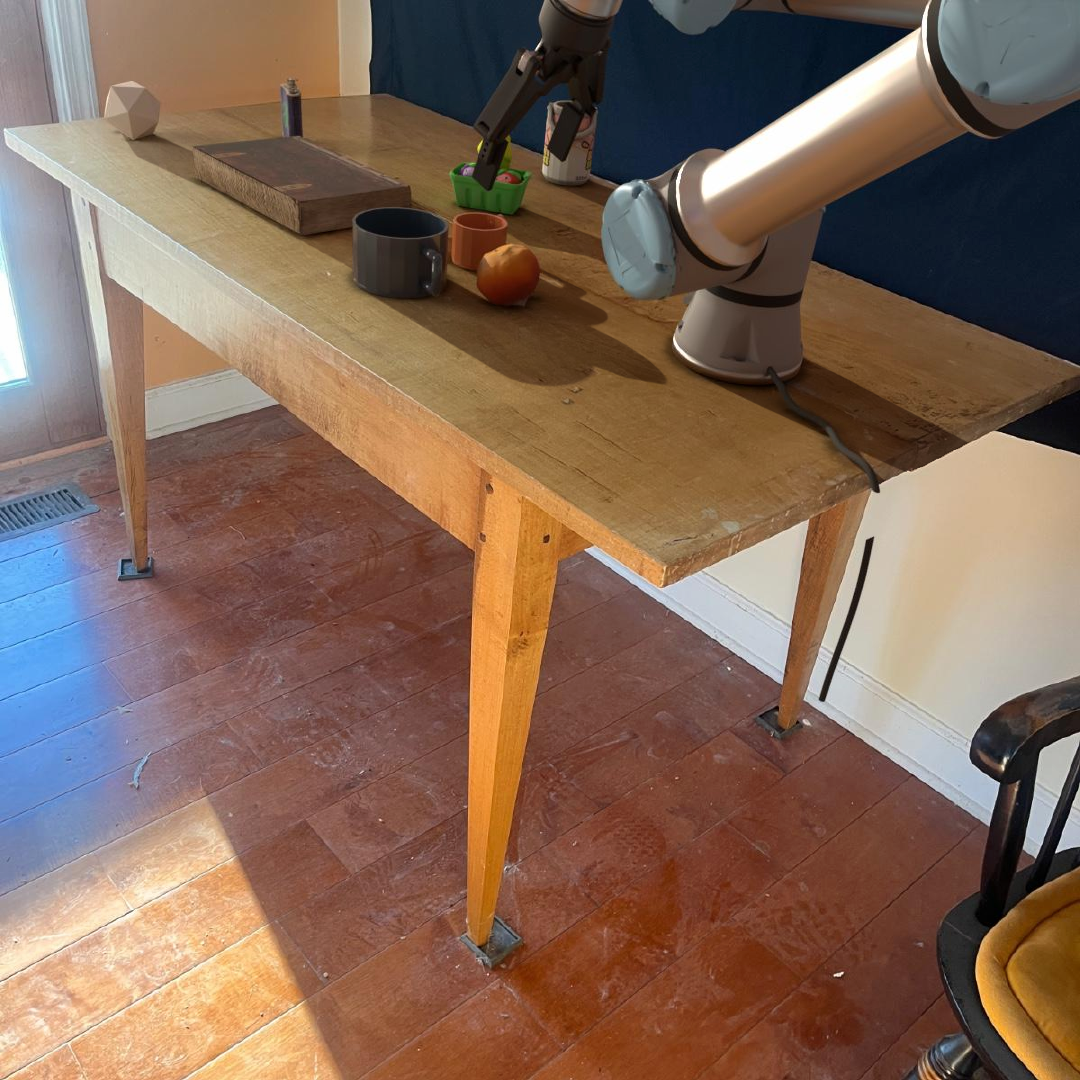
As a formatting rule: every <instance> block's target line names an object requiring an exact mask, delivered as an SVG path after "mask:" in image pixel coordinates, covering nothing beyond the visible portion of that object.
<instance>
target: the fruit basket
mask: <svg viewBox="0 0 1080 1080" xmlns="http://www.w3.org/2000/svg"><path fill="white" fill-rule="evenodd" d="M506 140H507V141H508V142H509V143H508V146H507V149H506V151H505V154H504V157H503V160H502V163H501V165H500V168H499V171H498V174H497V177H496V179H495V182H494V185H493V188H492V190H490V191H486V190H485V189H484V188H483V187H482V186H481V185H480V184H479V183H478V182H477V181H476V180H474V179H473V178H472V174H473V171H474V168H475V165H476V162H466V161H465V162H461V163H460V164H458V165H457V166H456V167H454V168H453V169H452V170H450V171H449V177H450V180H451V182H452V188H453V193H454V196H455V201H456V205H457V206H458V207H463V208H470V209H475V210H476V209H477V210H481V211H484V210H485V211H487V212H492V213H500V214H506V215H510V216H512V215H514V213H515V212H516V211H517V210H518V209H519V208H520V207H521V205H522V202H523V199H524V196H525V193H526V189H527V187H528V183H529V182H530V179H531V177H532V172H530V171H526V170H520V169H516V168H511V162H512V159H513V150H512V147H511V140H512V139H511V136H510V134H509V135H508V136H507V137H506ZM482 141H483V139H482V140H481V141H480V142H479V144H478V145H477V154H478V153H479V151H480V148H481V144H482Z"/></svg>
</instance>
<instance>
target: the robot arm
mask: <svg viewBox="0 0 1080 1080" xmlns="http://www.w3.org/2000/svg"><path fill="white" fill-rule="evenodd" d="M623 1H624V0H544V1H543V4H542V7H541V9H540V13H539V16H538V24H539V28H540V31H541V36H542V37H541V40H540V42H539V43H538V45H537V46H536V48H535V50H531V51H530V50H529V49H527V48H526V47H525V46H524V45H523V46H520V47H519V48H518V49H517V51H516V53H515V55H514V58H513V60H512V63H511V65H510V68H508V70H507V72H506V73H505V74H504V77H503V78H502V80H501V81H500V83H499V85H498V86H497V88H496V89H495V91H494V93H492V95H491V97H490V98H489V100H488V101H487V103H486V105H485V107H484V108H483V110H482V111H481V113H480V115H479V116H478V118H477V119H476V121H475V122H474V124H473V129H474V131H476V132H477V133H478V134H479V135H480V136H481V137H483V138H482V140H483V141H482V140H481V141H482V144H481V148H480V151H479V153H478V152H477V160H476V162H475V163H476V165H475V168H474V171H473V174H472V178H473V179H474V180H476V181H477V182H478V183H479V184H480V185H481V186H482V187H483V188H484V189H485V190H486V191H490V190H492V188H493V185H494V182H495V179H496V177H497V174H498V171H499V168H500V165H501V163H502V160H503V157H504V154H505V151H506V149H507V146H508V143H509V142H508V141H507V140H506V137H507V136H508V135H509V136H510V134H511V133H512V131H513V130H514V129H515V128H516V127H517V126H518V125H519V123H520V122H521V121H522V119H523V118H524V117H525V116H526V114H527V113H529V111H530V110H531V108H532V107H534V105H535V104H536V103H537V101H538V100H539V99H540V98H541V97H546V96H547V95H549V93H550V92H551V91H552V90H553V88H555V87H557V86H559V85H561V84H563V85H564V84H566V87H567V91H568V95H569V98H570V101H572V102H573V104H571V103H570V102H566V103H564V106H563V108H562V111H561V113H560V116H559V118H558V121H557V124H556V126H555V129H554V131H553V134H552V136H551V139H550V141H549V144H548V146H547V150H549V151H550V152H551V153H552V154H553V155H554V156H555V157H556V158H558V159H559V160H560V161H561V162H564V161H566V159H567V156H568V154H569V151H570V149H571V147H572V144H573V142H574V139H575V137H576V134H577V132H578V130H579V127H580V125H581V122H582V120H583V118H584V115H585V113H586V114H587V115H588V116H589V117H592V116H593V115H594V114H595V112H596V108H595V107H596V106H599V105H600V104H601V103H602V102H603V100H604V91H605V83H606V81H605V80H606V69H607V58H608V54H609V51H610V49H611V45H612V42H613V40H612V39H611V37H609V35H610V32H611V30H612V27H613V25H614V22H615V18H616V14H618V13H619V11H620V9H621V6H622V3H623ZM648 2H649V3H650V4H651V5H652V7H653V9H654V10H655V11H656V12H657V13H658V14H659V16H662V17H663V18H664V20H667V21H668V22H670V23H671V25H673V26H674V28H676V29H677V30H678V31H679V32H680V33H683V34H686V35H690V36H691V35H693V36H695V35H696V36H697V35H700V34H704V33H705V32H706V31H707V29H709V28H715V27H717V26H719V24H720V23H721V22H723V21H724V20H725V19H726V17H728V15H729V14H730V12H732V11H764V12H775V13H782V14H783V13H784V14H791V15H805V16H810V17H820V18H825V19H826V18H827V19H833V20H842V21H849V22H856V23H862V24H863V23H864V24H871V25H879V26H880V25H881V26H887V27H892V28H893V27H895V28H901V29H909V30H914V31H912V32H910V33H909V34H907V35H906V36H905V37H903V38H901V39H900V40H898V41H897V42H895V43H893V44H892V45H891V46H889V47H887V48H886V49H884V50H883V51H881V52H879V53H878V54H877V55H875V56H873V57H872V58H870V59H869V60H867V61H865V62H864V63H862V64H861V65H859V66H857V67H856V68H854V69H853V70H852V71H850V72H849V73H847V74H845V75H844V76H842V77H840V78H839V79H837V80H836V81H835V82H833V83H832V84H830V85H828V86H827V87H825V88H823V89H821V91H819V92H817V93H816V94H814V95H813V96H811V97H810V98H808V99H807V100H805V101H804V102H802V103H800V104H799V105H797V106H795V107H794V108H793V109H791V110H789V111H788V112H786V113H784V115H781V116H780V117H779V118H777V119H776V120H774V121H773V122H771V123H769V124H768V125H766V126H765V127H763V128H761V129H760V130H759V131H757V132H755V133H754V134H753V135H751V136H749V137H747V138H746V139H745V140H743V141H741V142H740V143H738V144H737V145H735V146H733V147H731V148H729V149H727V150H726V151H725V150H722V149H717V148H706V149H702V150H699V151H697V152H694V153H693V154H691V155H690V156H689V157H687V158H686V159H683V161H681V162H680V163H677V164H676V165H674V166H673V167H672V168H670V169H669V170H667V171H665V172H664V173H663V174H661V175H659V176H656V177H653V178H650V179H642V178H638V179H637V178H635V179H633V180H631V181H630V182H625V183H623V184H621V185H619V186H618V187H616V188H615V189H614V190H613V192H611V194H610V195H609V197H608V199H607V201H606V203H605V206H604V209H603V213H602V226H601V229H600V230H601V231H600V233H601V234H600V235H601V245H602V251H603V255H604V259H605V263H606V265H607V268H608V270H609V272H610V275H611V276H612V278H613V280H614V282H616V285H618V287H619V288H620V289H621V290H622V291H624V292H625V293H626V294H627V295H628V296H629V297H631V298H633V299H636V300H639V301H655V300H657V301H664V300H666V299H668V298H672V297H676V296H679V295H683V299H682V306H685V305H688V306H687V308H686V309H685V312H684V314H683V316H682V319H681V320H680V321H679V322H678V324H677V326H676V328H675V331H674V334H673V338H672V344H671V349H672V353H673V354H674V356H675V357H676V359H678V360H679V361H680V362H681V363H682V364H683V365H685V366H686V367H687V368H689V369H691V370H693V371H695V372H696V373H699V374H701V375H705V376H706V377H709V378H712V379H716V380H719V381H723V382H727V383H731V384H732V383H733V384H740V385H748V386H749V385H750V386H751V385H752V386H764V385H765V386H766V385H774V384H775V386H776V387H777V389H778V391H779V392H780V394H781V396H782V399H783V400H784V402H785V403H786V405H787V406H788V407H789V408H790V409H791V410H792V411H793V412H794V413H796V414H797V415H798V416H800V417H802V418H805V419H806V420H808V421H811V422H813V423H815V424H816V425H818V426H820V427H821V428H822V429H823V430H824V431H825V432H826V433H827V435H828V436H829V438H830V440H831V442H832V444H833V445H834V446H835V448H836V449H837V451H839V453H840V454H842V455H843V456H844V457H846V458H847V459H849V460H851V462H854V463H855V464H857V465H858V466H860V467H861V468H862V469H863V470H864V472H865V474H866V476H867V477H868V480H869V484H870V487H871V491H872V492H874V493H875V494H881V488H880V484H879V483H880V482H879V480H878V476H877V474H876V472H875V470H874V468H873V467H872V465H871V464H870V463H869V462H868V461H867V460H866V459H865V458H863V457H862V456H861V455H859V454H857V453H856V452H853V451H852V450H850V449H849V448H848V447H846V445H844V443H843V442H842V441H841V439H840V437H839V435H838V434H837V432H836V431H835V429H834V428H833V426H832V425H831V424H830V423H829V422H828V421H826V420H825V419H823V418H822V417H820V416H818V415H817V414H815V413H812V412H810V411H808V410H806V409H804V408H802V407H801V406H800V405H798V404H797V403H796V401H794V399H793V398H792V397H791V395H790V394H789V391H788V390H787V388H786V386H785V384H784V382H786V381H790V380H791V379H793V378H794V377H796V376H797V375H798V373H799V372H800V370H801V366H802V362H803V358H804V346H803V345H804V344H803V342H802V321H801V320H802V319H801V302H802V297H803V294H804V289H805V286H806V281H807V278H808V274H809V269H810V266H811V262H812V258H813V254H814V250H815V247H816V243H817V239H818V235H819V231H820V227H821V223H822V219H823V216H824V214H825V213H826V210H827V208H826V206H827V205H829V204H831V203H833V202H835V201H837V200H839V199H841V198H843V197H844V196H847V195H848V194H850V193H852V192H854V191H856V190H858V189H860V188H862V187H864V186H866V185H867V184H869V183H871V182H873V181H875V180H877V179H879V178H881V177H883V176H885V175H887V174H889V173H891V172H894V171H895V170H896V169H898V168H901V167H902V166H904V165H906V164H908V163H911V162H912V161H914V160H916V159H918V158H920V157H921V156H923V155H926V154H928V153H929V152H932V151H933V150H935V149H937V148H939V147H941V146H943V145H945V144H946V143H948V142H951V141H953V140H954V139H956V138H958V137H960V136H962V135H965V134H966V133H968V132H969V133H971V134H973V135H976V136H978V137H981V138H983V139H988V140H995V139H999V138H1002V137H1005V136H1006V135H1008V134H1010V133H1013V132H1014V131H1017V130H1018V129H1019V130H1020V129H1022V127H1025V126H1027V125H1029V124H1031V123H1033V122H1035V121H1038V120H1039V119H1041V118H1043V117H1045V116H1047V115H1050V114H1051V113H1053V112H1056V111H1057V110H1059V109H1061V108H1064V107H1066V106H1067V105H1069V104H1071V103H1074V102H1076V101H1079V100H1080V0H648ZM535 77H537V78H538V79H539V80H540V81H541V82H542V83H541V82H540V81H538V79H536V78H535ZM594 104H595V105H596V106H594ZM684 294H685V295H684ZM874 539H875V536H871V537H869V538H867V539H865V542H864V548H863V553H862V559H861V562H860V567H859V572H858V575H857V579H856V582H855V583H856V584H855V588H854V591H853V594H852V598H851V601H850V605H849V607H848V611H847V614H846V617H845V619H844V623H843V626H842V629H841V632H840V635H839V637H838V640H837V643H836V645H835V647H834V651H833V654H832V657H831V660H830V662H829V665H828V668H827V672H826V673H825V676H824V681H823V682H822V683H823V684H822V686H821V690H820V692H819V696H818V701H819V702H822V703H825V702H826V699H827V696H828V693H829V690H830V687H831V683H832V681H833V679H834V678H833V677H834V675H835V672H836V669H837V667H838V664H839V661H840V658H841V655H842V652H843V650H844V647H845V644H846V641H847V639H848V636H849V633H850V630H851V627H852V625H853V622H854V619H855V616H856V614H857V610H858V607H859V603H860V599H861V596H862V594H863V589H864V586H865V582H866V579H867V574H868V570H869V565H870V561H871V557H872V551H873V546H874V541H875V540H874Z"/></svg>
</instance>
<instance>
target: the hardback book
mask: <svg viewBox="0 0 1080 1080" xmlns="http://www.w3.org/2000/svg"><path fill="white" fill-rule="evenodd" d="M192 152H193V153H192V154H193V162H194V163H193V164H194V172H195V178H196V179H198V180H200V181H202V182H204V183H206V184H207V185H209V186H211V187H212V188H214V189H216V190H219V191H220V192H222V193H224V194H225V195H227V196H230V197H231V198H233V199H235V200H237V201H238V202H241V203H242V204H244V205H246V206H247V207H249V208H251V209H253V210H254V211H257V212H259V213H260V214H262V215H264V216H266V217H268V218H269V219H272V220H273V221H275V222H277V223H279V224H280V225H282V226H284V227H286V228H288V229H290V230H291V231H293V232H295V233H297V234H299V235H301V236H307V235H311V234H318V233H324V232H331V231H336V230H342V229H348V228H352V219H353V217H354V216H355V215H356V214H358V213H360V212H362V211H365V210H369V209H374V208H383V207H401V208H412V189H411V186H410V185H409V184H408V183H405V182H403V181H400V180H398V179H396V178H393V177H391V176H389V175H387V174H385V173H382V172H380V171H378V170H376V169H373V168H371V167H369V166H367V165H364V164H362V163H361V162H358V161H356V160H353V158H352V159H351V158H350V157H347V156H345V155H343V154H340V153H339V152H336V151H334V150H331V149H329V148H328V147H325V146H323V145H320V144H318V143H316V142H314V141H312V140H310V139H307V138H305V137H304V136H303V137H301V136H290V137H282V136H281V137H280V136H279V137H271V138H261V139H250V140H240V141H230V142H229V141H228V142H220V143H219V142H218V143H209V144H199V145H198V144H197V145H192Z"/></svg>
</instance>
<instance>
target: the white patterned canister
mask: <svg viewBox="0 0 1080 1080" xmlns="http://www.w3.org/2000/svg"><path fill="white" fill-rule="evenodd" d="M566 102H570V103H571V104H573V102H572V101H571V100H557V101H555V102H549V104H548V105H547V108H546V109H547V119H546V126H545V127H546V128H545V137H544V138H545V139H544V146H543V147H544V149H543V157H542V158H543V159H542V168H541V172H542V175H543V177H544V178H545V180H546V181H548V182H549V183H552V184H556V185H561V186H568V187H569V186H571V187H573V186H575V187H576V186H581V185H584V184H586V183H587V182H588V181H589V179H590V176H591V169H592V159H593V151H594V143H595V136H596V135H595V134H596V128H597V118H598V115H599V110H598V108H597V107H596V106H594V107H595V108H596V112H595V114H594V115H593V116H592V117H589V116H588V115H587V114H586V113H585V115H584V118H583V120H582V122H581V125H580V127H579V130H578V132H577V134H576V137H575V139H574V142H573V144H572V147H571V149H570V151H569V154H568V156H567V159H566V161H564V162H561V161H560V160H559V159H558V158H556V157H555V156H554V155H553V154H552V153H551V152H550V151H549V150H547V146H548V144H549V141H550V139H551V136H552V134H553V131H554V129H555V126H556V124H557V121H558V118H559V116H560V113H561V111H562V108H563V106H564V103H566Z"/></svg>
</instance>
